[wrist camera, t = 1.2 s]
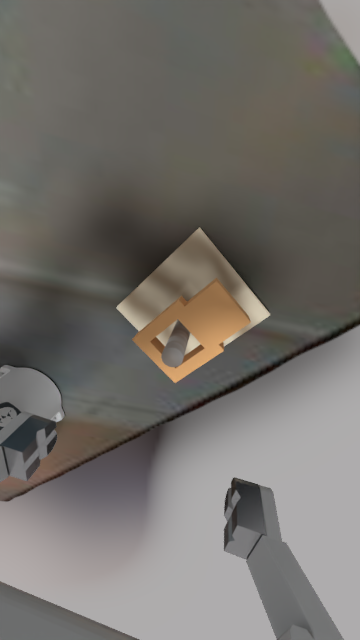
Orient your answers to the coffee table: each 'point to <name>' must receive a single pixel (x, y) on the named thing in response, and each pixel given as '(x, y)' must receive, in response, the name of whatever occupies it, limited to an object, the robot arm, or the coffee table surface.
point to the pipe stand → (187, 294)
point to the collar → (195, 327)
